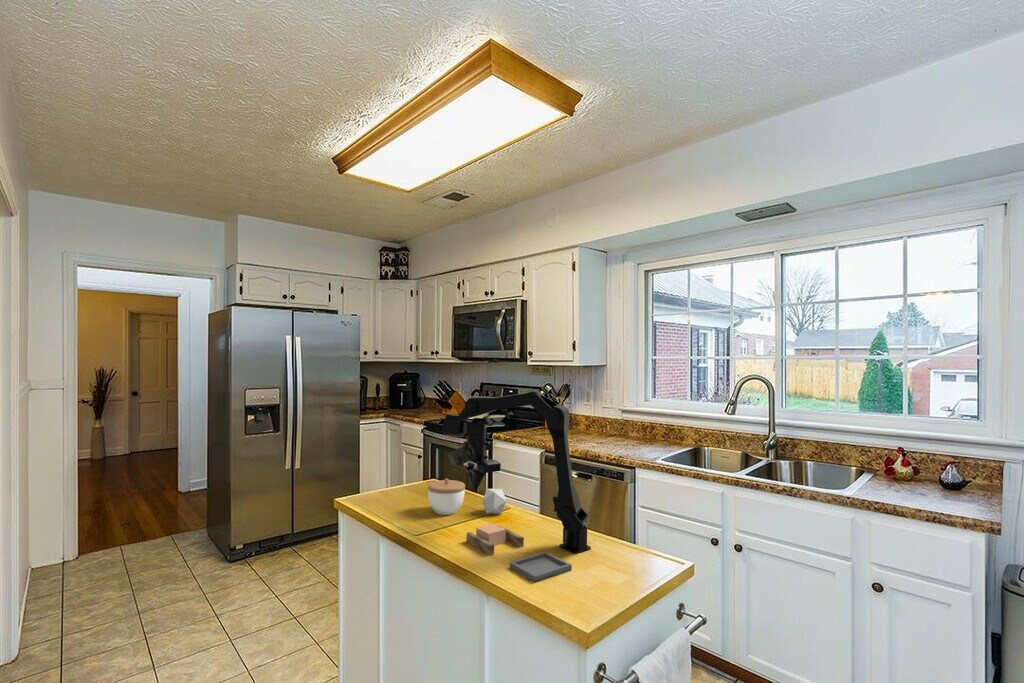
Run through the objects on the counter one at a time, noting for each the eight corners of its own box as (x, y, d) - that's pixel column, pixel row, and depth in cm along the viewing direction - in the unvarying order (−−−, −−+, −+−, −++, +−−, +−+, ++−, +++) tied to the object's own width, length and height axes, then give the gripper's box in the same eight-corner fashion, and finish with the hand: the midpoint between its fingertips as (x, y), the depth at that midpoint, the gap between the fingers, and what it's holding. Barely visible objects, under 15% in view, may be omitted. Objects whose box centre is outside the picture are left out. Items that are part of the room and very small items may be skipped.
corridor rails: (523, 546, 142) (523, 537, 142) (490, 555, 135) (490, 546, 135) (498, 533, 151) (498, 525, 151) (466, 541, 145) (466, 532, 145)
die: (497, 520, 165) (512, 495, 168) (475, 505, 167) (491, 480, 170) (497, 521, 173) (512, 497, 176) (476, 507, 174) (491, 483, 177)
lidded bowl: (451, 519, 163) (452, 485, 163) (419, 513, 168) (420, 480, 169) (471, 509, 174) (472, 477, 174) (440, 503, 180) (441, 472, 180)
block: (505, 543, 144) (505, 529, 144) (488, 548, 141) (489, 533, 141) (492, 537, 149) (492, 523, 149) (476, 541, 145) (476, 527, 145)
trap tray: (571, 570, 127) (571, 564, 127) (534, 582, 120) (535, 576, 120) (545, 556, 135) (545, 551, 135) (509, 567, 128) (509, 562, 128)
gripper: (437, 436, 155) (436, 487, 155) (470, 445, 140) (468, 502, 140) (468, 433, 162) (467, 482, 162) (502, 442, 147) (501, 496, 147)
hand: (474, 490), depth 152 cm, fingers closed
